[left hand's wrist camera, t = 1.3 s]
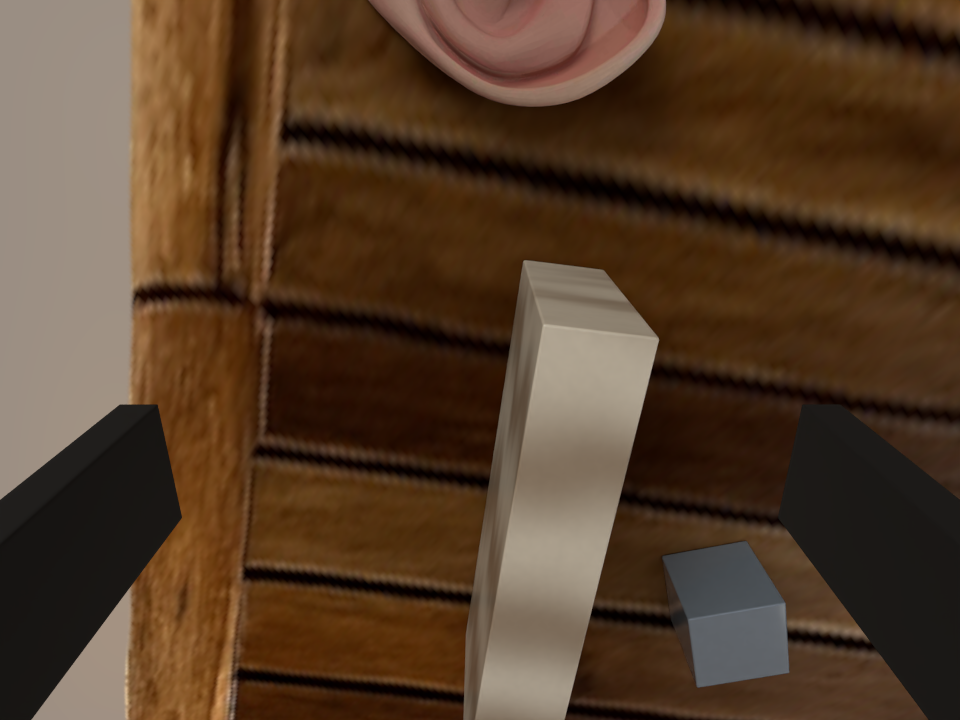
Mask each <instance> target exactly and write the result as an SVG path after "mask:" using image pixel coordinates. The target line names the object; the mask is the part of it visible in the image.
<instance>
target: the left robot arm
mask: <svg viewBox="0 0 960 720" xmlns="http://www.w3.org/2000/svg"><path fill="white" fill-rule="evenodd" d="M181 518H182V516H181V511H180V506H179V502H178V497H177V492H176V488H175V483H174V479H173V474H172V469H171V465H170V460H169V455H168V451H167V446H166V442H165V437H164V432H163V428H162V423H161V418H160V414H159V409H158V405H119V406H118V407H116V408H115V409H114V410H113V411H111V412H110V413H109V414H108V415H106V416H105V417H104V418H102V419H101V420H100V421H99V422H97V423H96V424H95V425H94V426H92V427H91V428H90V429H89V430H87V431H86V432H85V433H84V434H82V435H81V436H80V437H79V438H77V439H76V440H75V441H74V442H72V443H71V444H70V445H69V446H67V447H66V448H65V449H64V450H62V451H61V452H60V453H59V454H57V455H56V456H55V457H54V458H52V459H51V460H50V461H48V462H47V463H46V464H45V465H44V466H42V467H41V468H40V469H38V470H37V471H36V472H35V473H33V474H32V475H31V476H30V477H28V478H27V479H26V480H25V481H23V482H22V483H21V484H20V485H18V486H17V487H16V488H15V489H13V490H12V491H11V492H10V493H8V494H7V495H6V496H5V497H3V498H2V499H1V500H0V720H31V719H32V718H33V717H34V715H35V714H36V713H37V711H38V710H39V709H40V707H41V706H42V705H43V703H44V702H45V701H46V699H47V698H48V697H49V695H50V694H51V692H52V691H53V690H54V689H55V687H56V686H57V684H58V683H59V682H60V680H61V679H62V678H63V676H64V675H65V674H66V672H67V671H68V670H69V668H70V667H71V666H72V664H73V663H74V662H75V660H76V659H77V658H78V656H79V655H80V654H81V652H82V651H83V650H84V648H85V647H86V646H87V644H88V643H89V642H90V640H91V639H92V638H93V636H94V635H95V634H96V632H97V631H98V629H99V628H100V627H101V626H102V624H103V623H104V622H105V620H106V619H107V617H108V616H109V615H110V613H111V612H112V611H113V609H114V608H115V607H116V605H117V604H118V603H119V601H120V600H121V599H122V597H123V596H124V595H125V593H126V592H127V591H128V589H129V588H130V587H131V585H132V584H133V583H134V581H135V580H136V579H137V577H138V576H139V575H140V573H141V572H142V571H143V569H144V568H145V567H146V565H147V564H148V563H149V561H150V560H151V558H152V557H153V556H154V554H155V553H156V552H157V550H158V549H159V548H160V546H161V545H162V544H163V542H164V541H165V540H166V538H167V537H168V536H169V534H170V533H171V532H172V530H173V529H174V528H175V526H176V525H177V524H178V522H179V521H180V520H181ZM778 518H779V520H780V521H781V522H782V524H783V525H784V526H785V528H786V529H787V530H788V532H789V533H790V534H791V536H792V537H793V538H794V540H795V541H796V542H797V544H798V545H799V546H800V548H801V549H802V550H803V552H804V553H805V554H806V556H807V557H808V558H809V560H810V561H811V563H812V564H813V565H814V567H815V568H816V569H817V571H818V572H819V573H820V575H821V576H822V577H823V579H824V580H825V581H826V583H827V584H828V585H829V587H830V588H831V589H832V591H833V592H834V593H835V595H836V596H837V597H838V599H839V600H840V601H841V603H842V604H843V605H844V607H845V608H846V609H847V611H848V612H849V613H850V615H851V616H852V617H853V619H854V620H855V622H856V623H857V624H858V626H859V627H860V628H861V630H862V631H863V632H864V634H865V635H866V636H867V638H868V639H869V640H870V642H871V643H872V644H873V646H874V647H875V648H876V650H877V651H878V652H879V654H880V655H881V656H882V658H883V659H884V660H885V662H886V663H887V664H888V666H889V667H890V668H891V670H892V671H893V672H894V674H895V675H896V676H897V678H898V679H899V681H900V682H901V683H902V685H903V686H904V687H905V689H906V690H907V691H908V693H909V694H910V695H911V697H912V698H913V699H914V701H915V702H916V703H917V705H918V706H919V707H920V709H921V710H922V711H923V713H924V714H925V715H926V717H927V718H928V719H929V720H960V500H959V499H958V498H957V497H955V496H954V495H953V494H952V493H950V492H949V491H948V490H947V489H945V488H944V487H943V486H942V485H940V484H939V483H938V482H937V481H935V480H934V479H933V478H932V477H930V476H929V475H928V474H927V473H925V472H924V471H923V470H922V469H920V468H919V467H918V466H917V465H915V464H914V463H913V462H912V461H910V460H909V459H908V458H906V457H905V456H904V455H903V454H901V453H900V452H899V451H898V450H896V449H895V448H894V447H893V446H891V445H890V444H889V443H888V442H886V441H885V440H884V439H883V438H881V437H880V436H879V435H878V434H876V433H875V432H874V431H873V430H871V429H870V428H869V427H868V426H866V425H865V424H864V423H863V422H861V421H860V420H859V419H858V418H856V417H855V416H854V415H852V414H851V413H850V412H849V411H847V410H846V409H845V408H844V407H842V406H841V405H802V409H801V414H800V418H799V423H798V428H797V432H796V437H795V442H794V446H793V451H792V455H791V460H790V465H789V469H788V474H787V479H786V483H785V488H784V492H783V497H782V502H781V506H780V511H779V516H778Z"/></svg>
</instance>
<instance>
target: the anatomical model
mask: <svg viewBox="0 0 960 720" xmlns="http://www.w3.org/2000/svg"><path fill="white" fill-rule="evenodd" d="M368 1H369V2H370V3H371V4H372V5H373V7H374V8H375V9H376V10H377V11H378V12H379V13H380V14H381V15H382V16H383V17H384V18H385V20H386V21H387V22H388V23H389V24H390V25H391V26H392V27H393V28H394V29H395V30H396V31H397V32H398V33H399V34H400V35H401V36H402V37H404V38H405V39H406V40H407V41H408V42H409V43H410V44H411V45H412V46H413V47H414V48H415V49H416V50H417V51H419V52H420V53H421V54H422V55H423V56H424V57H425V58H427V59H428V60H429V61H430V62H431V63H433V64H434V65H435V66H436V67H438V68H439V69H440V70H441V71H443V72H444V73H445V74H447V75H448V76H449V77H451V78H453V79H454V80H456V81H457V82H458V83H460V84H461V85H463V86H464V87H466V88H467V89H469V90H471V91H472V92H474V93H476V94H478V95H480V96H483V97H485V98H487V99H490V100H493V101H496V102H499V103H503V104H509V105H515V106H528V107H535V106H551V105H558V104H563V103H568V102H571V101H574V100H577V99H580V98H582V97H584V96H586V95H588V94H590V93H593V92H594V91H596V90H598V89H599V88H601V87H603V86H605V85H606V84H608V83H609V82H610V81H612V80H613V79H615V78H616V77H617V76H619V75H620V74H621V73H623V72H624V71H625V70H626V69H628V68H629V67H630V66H631V65H632V64H633V63H634V62H635V61H636V60H638V59H639V58H640V57H641V55H642V54H643V53H644V52H645V51H646V50H647V49H648V48H649V47H650V45H651V44H652V43H653V41H654V40H655V38H656V37H657V35H658V33H659V31H660V29H661V27H662V24H663V22H664V18H665V13H666V0H368Z"/></svg>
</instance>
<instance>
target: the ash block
mask: <svg viewBox="0 0 960 720" xmlns="http://www.w3.org/2000/svg"><path fill="white" fill-rule="evenodd" d="M658 342H659V338H658V337H657V335H656V334H655V333H654V332H653V330H652V329H651V328H650V327H649V326H648V324H647V323H646V322H645V321H644V319H643V318H642V317H641V316H640V314H639V313H638V312H637V311H636V310H635V308H634V307H633V306H632V305H631V303H630V302H629V301H628V300H627V298H626V297H625V296H624V295H623V293H622V292H621V291H620V290H619V289H618V287H617V286H616V285H615V284H614V282H613V281H612V280H611V279H610V277H609V276H608V275H607V274H606V272H605V271H604V270H600V269H592V268H584V267H576V266H568V265H560V264H552V263H544V262H536V261H528V260H524V261H523V266H522V273H521V279H520V286H519V292H518V299H517V306H516V312H515V319H514V325H513V332H512V338H511V345H510V351H509V358H508V364H507V371H506V377H505V384H504V390H503V397H502V403H501V410H500V416H499V423H498V429H497V436H496V442H495V449H494V455H493V462H492V468H491V475H490V481H489V488H488V494H487V501H486V507H485V514H484V520H483V527H482V533H481V540H480V546H479V553H478V559H477V566H476V572H475V579H474V585H473V592H472V598H471V605H470V611H469V618H468V624H467V631H466V654H465V690H464V720H565V716H566V712H567V708H568V704H569V700H570V696H571V692H572V688H573V684H574V680H575V676H576V672H577V668H578V664H579V659H580V655H581V651H582V647H583V643H584V639H585V635H586V631H587V627H588V623H589V619H590V615H591V611H592V607H593V603H594V599H595V595H596V591H597V587H598V583H599V579H600V575H601V571H602V567H603V563H604V559H605V555H606V551H607V547H608V543H609V539H610V535H611V531H612V527H613V523H614V519H615V515H616V511H617V507H618V503H619V499H620V495H621V491H622V487H623V483H624V479H625V475H626V471H627V467H628V462H629V458H630V454H631V450H632V446H633V442H634V438H635V434H636V430H637V426H638V422H639V418H640V414H641V410H642V406H643V402H644V398H645V394H646V390H647V386H648V382H649V378H650V374H651V370H652V366H653V362H654V358H655V354H656V350H657V346H658Z"/></svg>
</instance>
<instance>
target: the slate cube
mask: <svg viewBox="0 0 960 720" xmlns="http://www.w3.org/2000/svg"><path fill="white" fill-rule="evenodd" d="M662 561H663V568H664V575H665V582H666V589H667V596H668V603H669V610H670V617H671V621H672V623H673V626H674V628H675V631H676V634H677V636H678V639H679V642H680V644H681V647H682V649H683V652H684V655H685V657H686V660H687V663H688V665H689V668H690V671H691V673H692V676H693V678H694V681H695V684H696V686H697V687H698V688H699V687H705V686H711V685H718V684H724V683H730V682H736V681H742V680H749V679H755V678H761V677H767V676H773V675H780V674H786V673H789V658H788V640H787V621H786V603H785V601H784V600H783V598H782V597H781V595H780V594H779V592H778V590H777V589H776V587H775V586H774V584H773V582H772V581H771V579H770V578H769V576H768V574H767V573H766V571H765V570H764V568H763V567H762V565H761V563H760V562H759V560H758V559H757V557H756V555H755V554H754V552H753V551H752V549H751V547H750V546H749V544H748V543H747V541H742V542H737V543H731V544H725V545H720V546H714V547H709V548H703V549H698V550H692V551H687V552H681V553H675V554H670V555H664V556H662Z"/></svg>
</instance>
